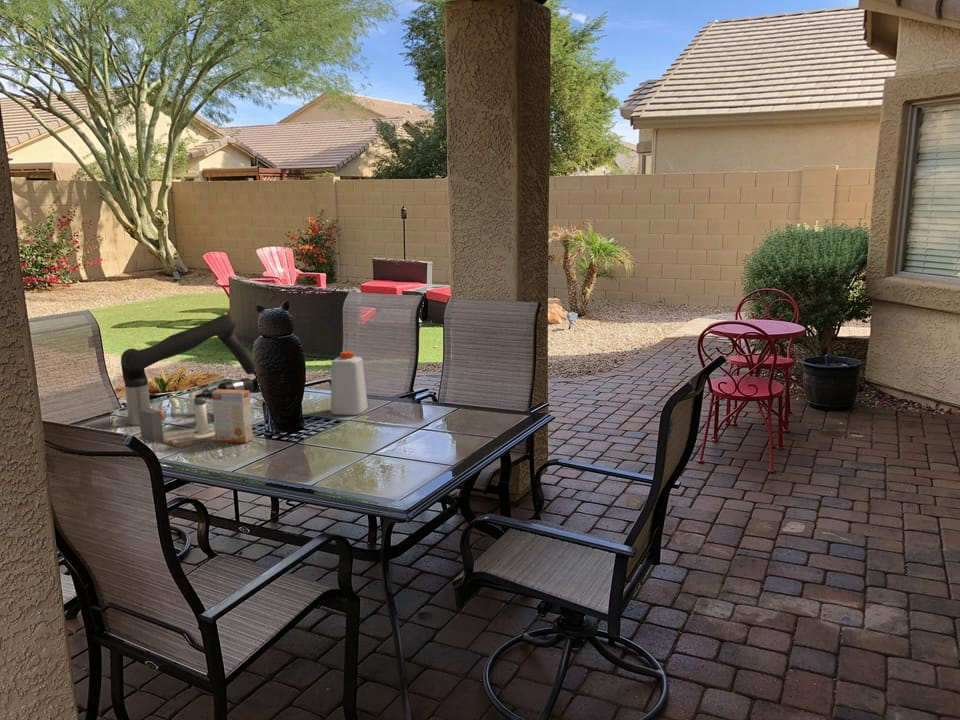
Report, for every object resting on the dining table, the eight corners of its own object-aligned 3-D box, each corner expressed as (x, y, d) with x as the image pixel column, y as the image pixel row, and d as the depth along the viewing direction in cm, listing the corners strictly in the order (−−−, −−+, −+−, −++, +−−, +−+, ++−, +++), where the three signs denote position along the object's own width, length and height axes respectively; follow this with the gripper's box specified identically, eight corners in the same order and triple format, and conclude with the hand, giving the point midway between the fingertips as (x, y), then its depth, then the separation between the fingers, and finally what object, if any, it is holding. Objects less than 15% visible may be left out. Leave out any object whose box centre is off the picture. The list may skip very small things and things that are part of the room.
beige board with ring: (162, 441, 305) (162, 437, 305) (206, 430, 321) (206, 426, 320) (181, 447, 297) (181, 443, 296) (225, 435, 312) (225, 432, 312)
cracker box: (253, 439, 306) (250, 389, 302) (245, 444, 300) (241, 393, 297) (224, 437, 310) (219, 388, 306) (215, 441, 304) (210, 391, 300)
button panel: (141, 437, 311) (138, 409, 309) (151, 435, 315) (148, 407, 312) (154, 441, 305) (151, 413, 303) (164, 439, 309) (161, 411, 306)
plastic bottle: (360, 416, 340) (357, 355, 335) (328, 415, 342) (324, 355, 337) (370, 408, 355) (367, 349, 349) (339, 407, 357) (336, 349, 352)
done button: (155, 420, 312) (154, 410, 312) (159, 419, 314) (158, 409, 313) (161, 421, 310) (160, 411, 309) (165, 420, 311) (164, 410, 310)
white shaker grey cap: (194, 431, 313) (191, 399, 310) (204, 429, 317) (201, 396, 314) (200, 433, 310) (197, 400, 308) (210, 430, 314) (207, 398, 311)
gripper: (221, 379, 341) (186, 387, 327) (239, 382, 333) (204, 390, 319) (223, 395, 342) (188, 403, 329) (240, 399, 334) (206, 408, 321)
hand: (196, 397), depth 324 cm, fingers closed
